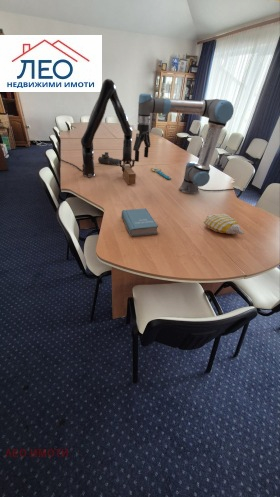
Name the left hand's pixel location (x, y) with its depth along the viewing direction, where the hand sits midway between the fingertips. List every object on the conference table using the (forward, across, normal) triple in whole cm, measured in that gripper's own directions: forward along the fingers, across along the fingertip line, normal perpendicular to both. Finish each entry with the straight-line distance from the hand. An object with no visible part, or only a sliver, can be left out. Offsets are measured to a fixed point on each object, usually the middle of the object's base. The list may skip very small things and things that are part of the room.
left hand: (126, 171), depth 199 cm
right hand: (-23, +1, +46) cm, 51 cm away
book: (+5, +13, +85) cm, 86 cm away
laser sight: (+5, +9, -42) cm, 44 cm away
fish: (+5, -37, +100) cm, 107 cm away
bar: (+4, 0, +8) cm, 9 cm away
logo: (+5, -37, -6) cm, 38 cm away
